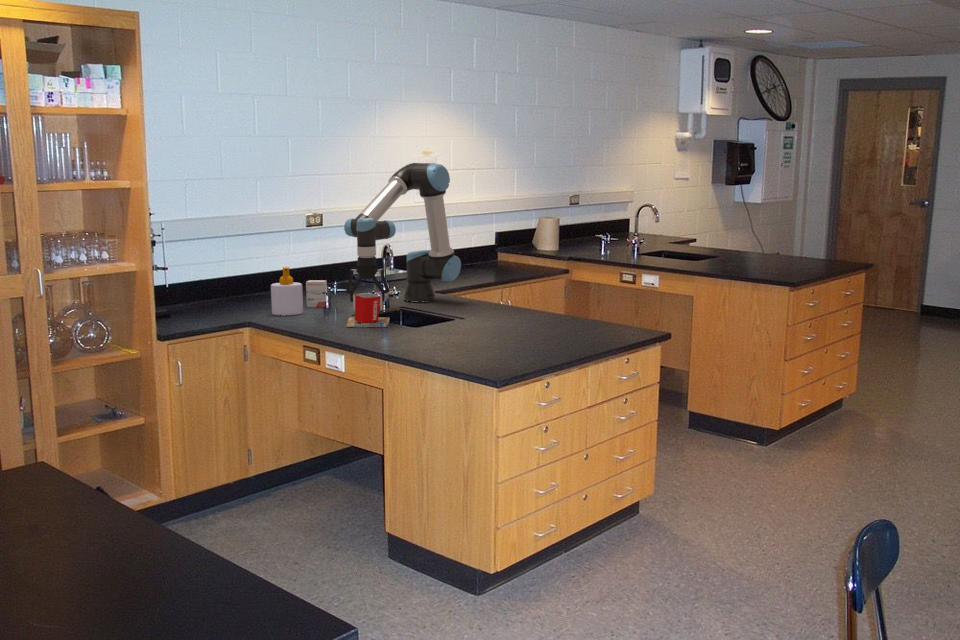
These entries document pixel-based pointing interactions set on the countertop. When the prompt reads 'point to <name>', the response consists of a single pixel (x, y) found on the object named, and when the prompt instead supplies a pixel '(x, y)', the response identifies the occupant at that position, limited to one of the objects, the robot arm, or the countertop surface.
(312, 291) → the ink box
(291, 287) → the soap bottle
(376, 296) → the mug
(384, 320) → the coaster board
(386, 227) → the robot arm
